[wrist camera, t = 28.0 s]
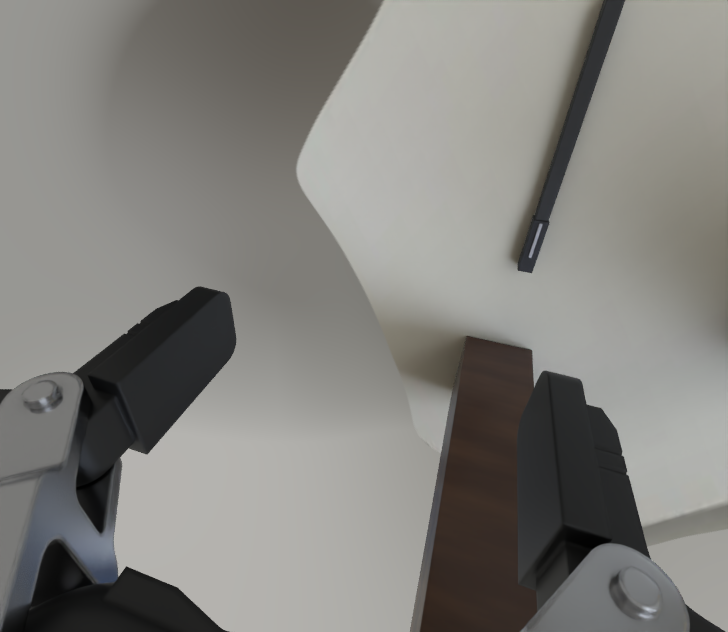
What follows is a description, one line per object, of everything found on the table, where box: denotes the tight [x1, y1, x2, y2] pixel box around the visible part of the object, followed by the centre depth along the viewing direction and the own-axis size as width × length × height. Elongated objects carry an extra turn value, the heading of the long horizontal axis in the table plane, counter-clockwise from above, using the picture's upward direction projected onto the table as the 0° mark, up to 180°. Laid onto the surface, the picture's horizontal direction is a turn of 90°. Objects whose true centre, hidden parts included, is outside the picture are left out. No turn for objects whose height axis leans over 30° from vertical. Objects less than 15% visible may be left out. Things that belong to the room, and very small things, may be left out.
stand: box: [410, 336, 537, 632], centre depth 34 cm, size 15×8×32 cm, turn 176°
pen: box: [518, 0, 625, 273], centre depth 32 cm, size 21×1×2 cm, turn 176°
